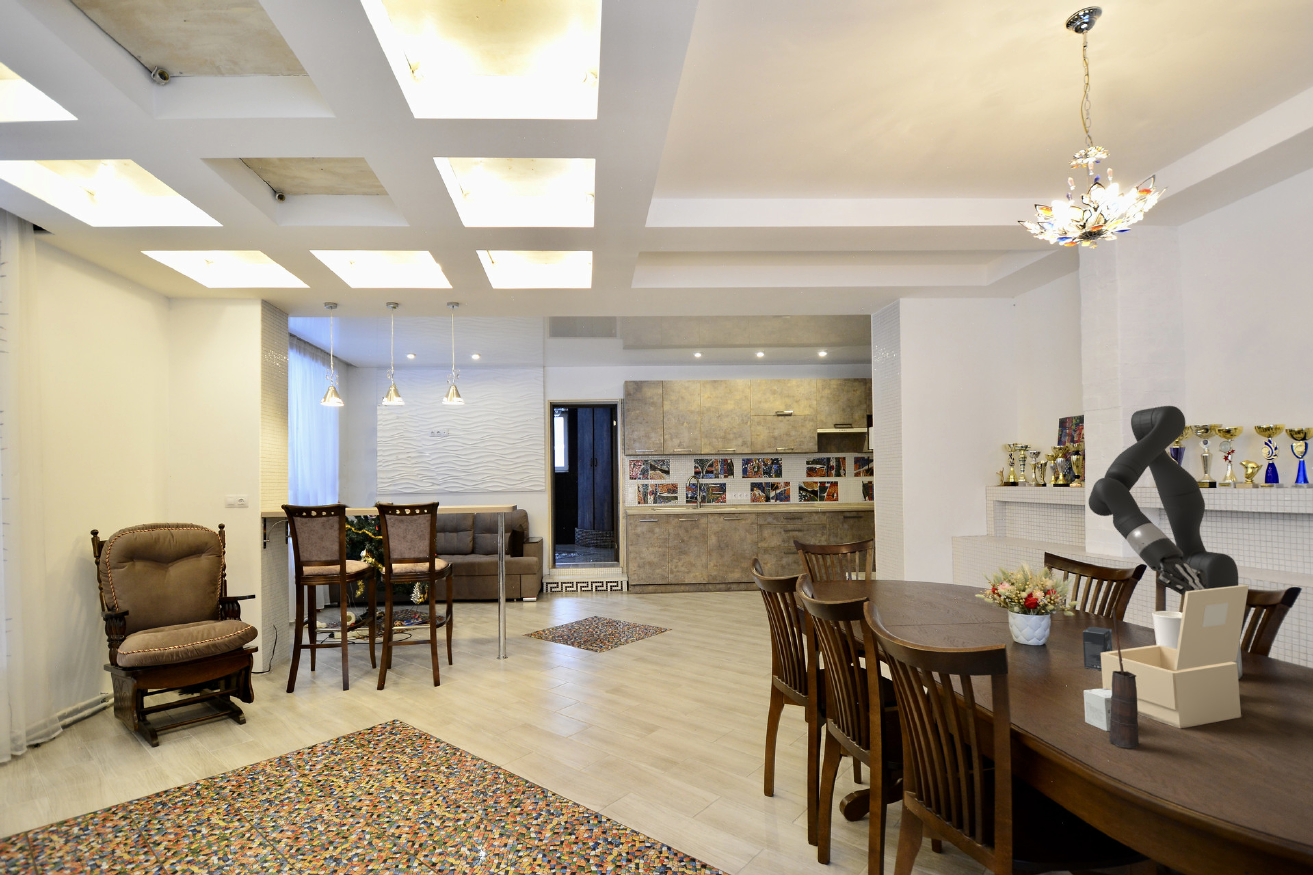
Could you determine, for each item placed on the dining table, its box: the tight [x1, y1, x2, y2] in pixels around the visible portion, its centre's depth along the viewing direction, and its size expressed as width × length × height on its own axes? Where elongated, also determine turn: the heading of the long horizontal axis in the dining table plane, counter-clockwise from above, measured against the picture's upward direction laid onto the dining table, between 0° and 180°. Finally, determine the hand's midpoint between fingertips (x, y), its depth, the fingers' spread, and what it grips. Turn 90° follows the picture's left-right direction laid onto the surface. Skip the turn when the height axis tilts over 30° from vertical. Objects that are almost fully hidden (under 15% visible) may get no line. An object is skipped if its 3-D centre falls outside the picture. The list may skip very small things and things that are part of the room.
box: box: [1082, 626, 1113, 671], centre depth 197 cm, size 8×6×11 cm
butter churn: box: [1108, 606, 1140, 749], centre depth 142 cm, size 9×10×28 cm
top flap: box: [1174, 584, 1249, 670], centre depth 152 cm, size 19×18×1 cm
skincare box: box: [1083, 687, 1112, 732], centre depth 153 cm, size 6×6×7 cm
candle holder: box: [1151, 610, 1182, 649], centre depth 207 cm, size 10×10×12 cm
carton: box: [1101, 644, 1242, 730], centre depth 162 cm, size 20×18×12 cm
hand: (1210, 607), depth 152 cm, fingers closed
